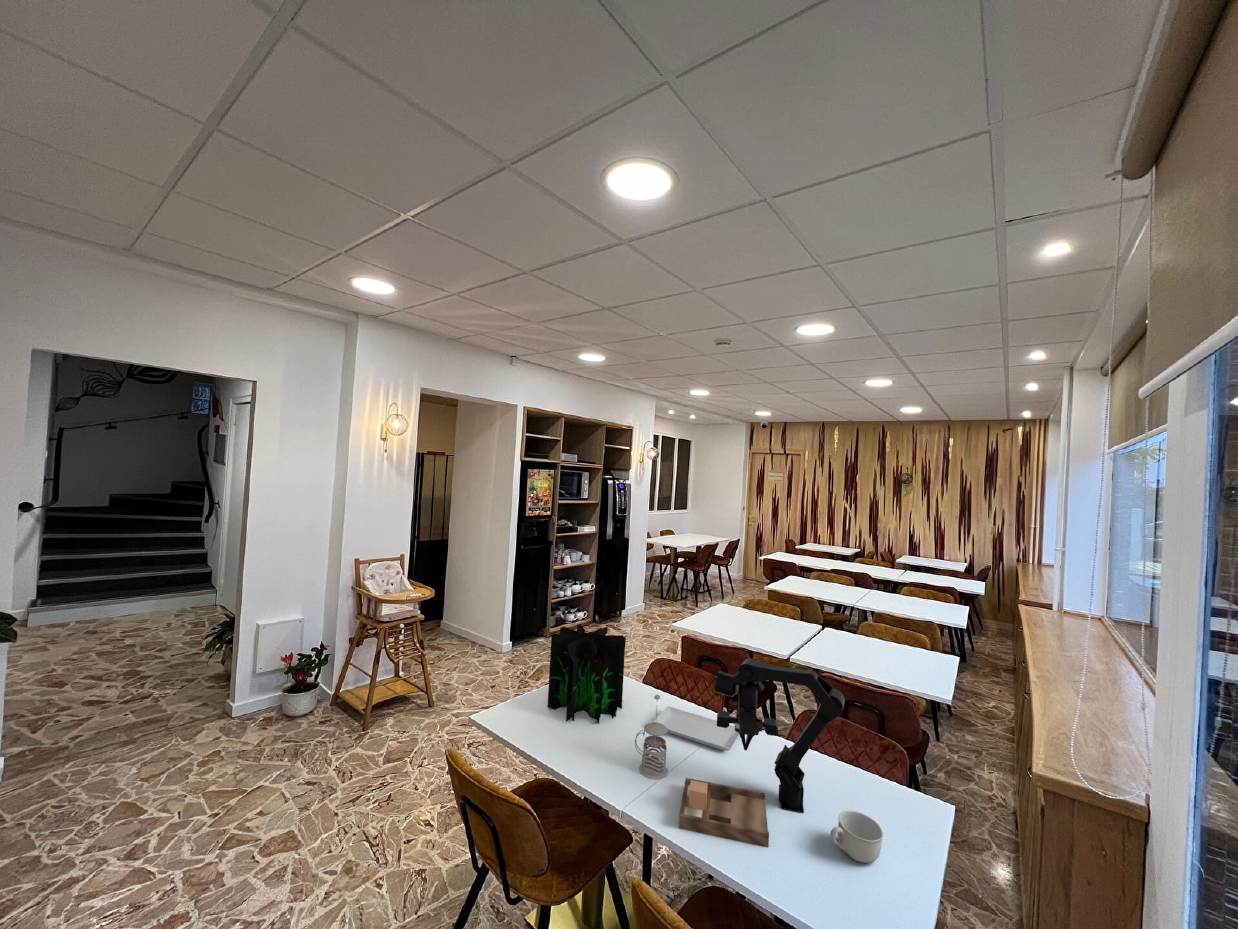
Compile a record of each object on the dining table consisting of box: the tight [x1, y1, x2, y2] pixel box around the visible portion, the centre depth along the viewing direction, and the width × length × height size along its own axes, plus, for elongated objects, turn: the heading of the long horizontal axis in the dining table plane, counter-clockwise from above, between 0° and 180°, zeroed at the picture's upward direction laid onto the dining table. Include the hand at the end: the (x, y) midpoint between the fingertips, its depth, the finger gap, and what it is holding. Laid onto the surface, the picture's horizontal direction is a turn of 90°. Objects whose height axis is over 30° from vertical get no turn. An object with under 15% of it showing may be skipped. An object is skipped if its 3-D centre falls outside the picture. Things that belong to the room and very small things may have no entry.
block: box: [689, 780, 708, 811], centre depth 146 cm, size 5×5×5 cm
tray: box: [652, 706, 740, 751], centre depth 190 cm, size 17×31×4 cm, turn 60°
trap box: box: [678, 777, 770, 848], centre depth 144 cm, size 24×18×4 cm
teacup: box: [830, 809, 884, 864], centre depth 132 cm, size 14×11×8 cm
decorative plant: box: [547, 623, 627, 724], centre depth 207 cm, size 29×30×30 cm
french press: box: [634, 694, 669, 781], centre depth 165 cm, size 10×12×25 cm
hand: (745, 749), depth 158 cm, fingers closed
